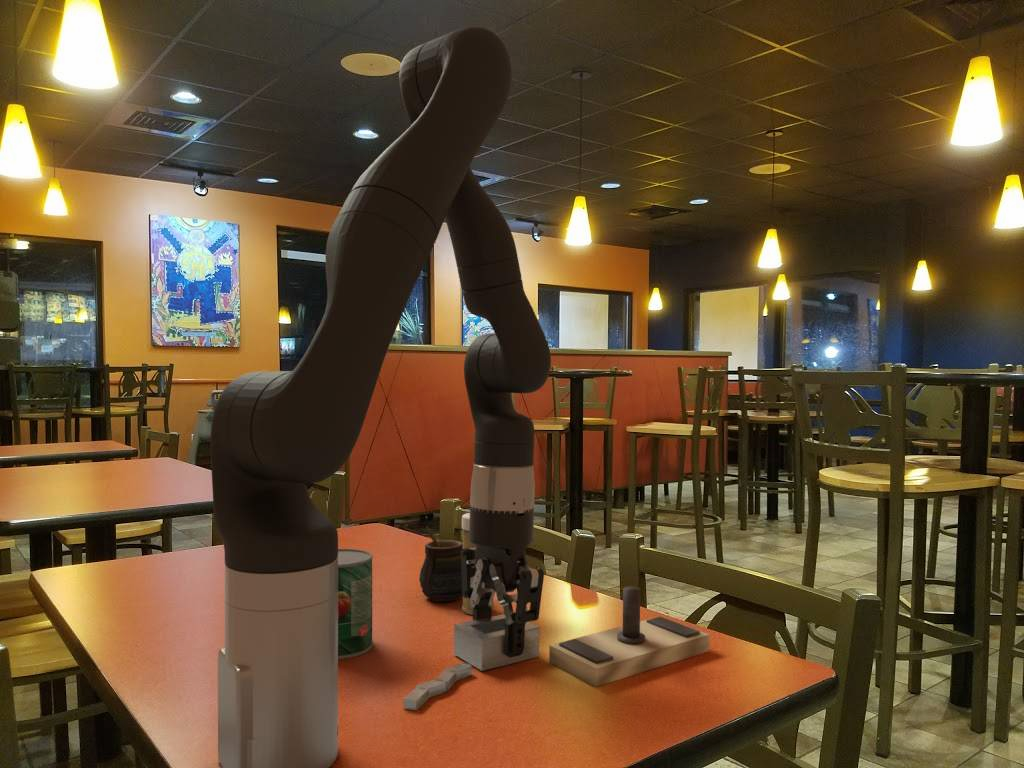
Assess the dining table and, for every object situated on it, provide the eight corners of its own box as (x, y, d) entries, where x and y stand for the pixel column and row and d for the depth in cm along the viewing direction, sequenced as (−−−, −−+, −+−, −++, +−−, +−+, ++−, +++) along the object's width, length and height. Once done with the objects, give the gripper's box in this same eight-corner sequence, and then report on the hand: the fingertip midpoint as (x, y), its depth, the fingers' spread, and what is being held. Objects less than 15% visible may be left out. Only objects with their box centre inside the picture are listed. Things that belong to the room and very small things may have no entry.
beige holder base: (595, 687, 79) (596, 611, 79) (549, 662, 85) (549, 593, 85) (709, 651, 89) (710, 584, 89) (660, 631, 96) (660, 569, 96)
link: (481, 670, 82) (482, 639, 82) (453, 654, 87) (454, 624, 87) (539, 656, 87) (539, 626, 87) (509, 641, 92) (509, 613, 92)
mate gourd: (448, 608, 104) (447, 537, 104) (407, 600, 109) (406, 531, 108) (478, 595, 110) (478, 528, 110) (439, 587, 115) (438, 523, 114)
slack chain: (414, 711, 73) (414, 701, 73) (396, 706, 74) (396, 696, 74) (475, 674, 82) (475, 665, 82) (459, 669, 83) (459, 660, 83)
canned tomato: (378, 635, 94) (379, 548, 93) (364, 660, 86) (365, 565, 86) (316, 634, 94) (316, 547, 94) (296, 659, 86) (296, 564, 86)
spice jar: (500, 612, 103) (500, 515, 103) (471, 618, 100) (472, 518, 100) (483, 603, 107) (483, 510, 106) (455, 609, 104) (455, 513, 104)
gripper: (443, 496, 91) (438, 634, 91) (511, 515, 79) (506, 673, 79) (494, 493, 95) (489, 624, 95) (566, 510, 84) (561, 660, 84)
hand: (497, 646), depth 87 cm, fingers closed on link, 6 cm apart
